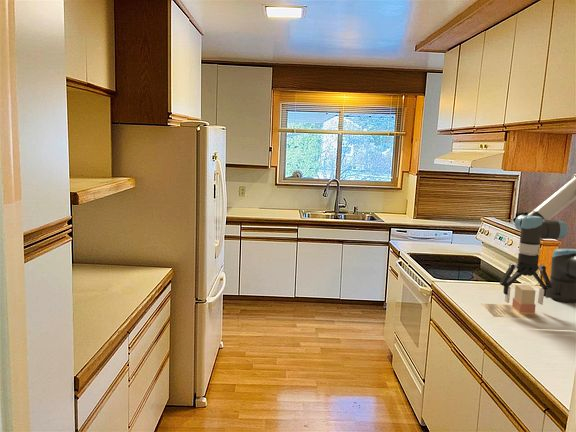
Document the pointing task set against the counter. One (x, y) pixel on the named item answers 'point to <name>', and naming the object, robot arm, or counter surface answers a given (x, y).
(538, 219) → the robot arm
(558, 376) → the counter surface
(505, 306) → the board
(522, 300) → the block
